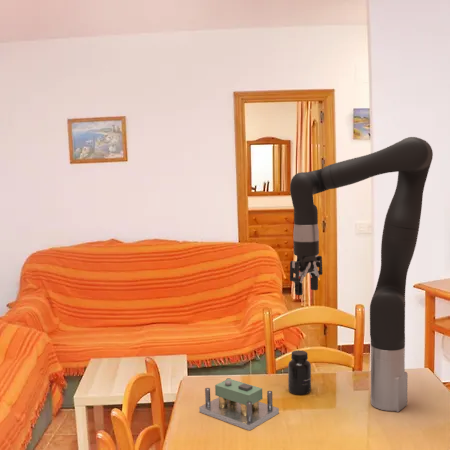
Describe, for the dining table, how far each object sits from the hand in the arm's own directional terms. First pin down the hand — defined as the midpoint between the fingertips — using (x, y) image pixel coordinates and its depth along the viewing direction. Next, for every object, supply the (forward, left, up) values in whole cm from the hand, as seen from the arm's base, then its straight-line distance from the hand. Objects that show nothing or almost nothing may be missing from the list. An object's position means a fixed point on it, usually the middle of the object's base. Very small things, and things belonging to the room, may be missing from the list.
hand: (306, 292), depth 167 cm
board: (+6, +26, -26) cm, 37 cm away
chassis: (+6, +26, -30) cm, 40 cm away
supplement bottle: (+1, +3, -30) cm, 30 cm away
